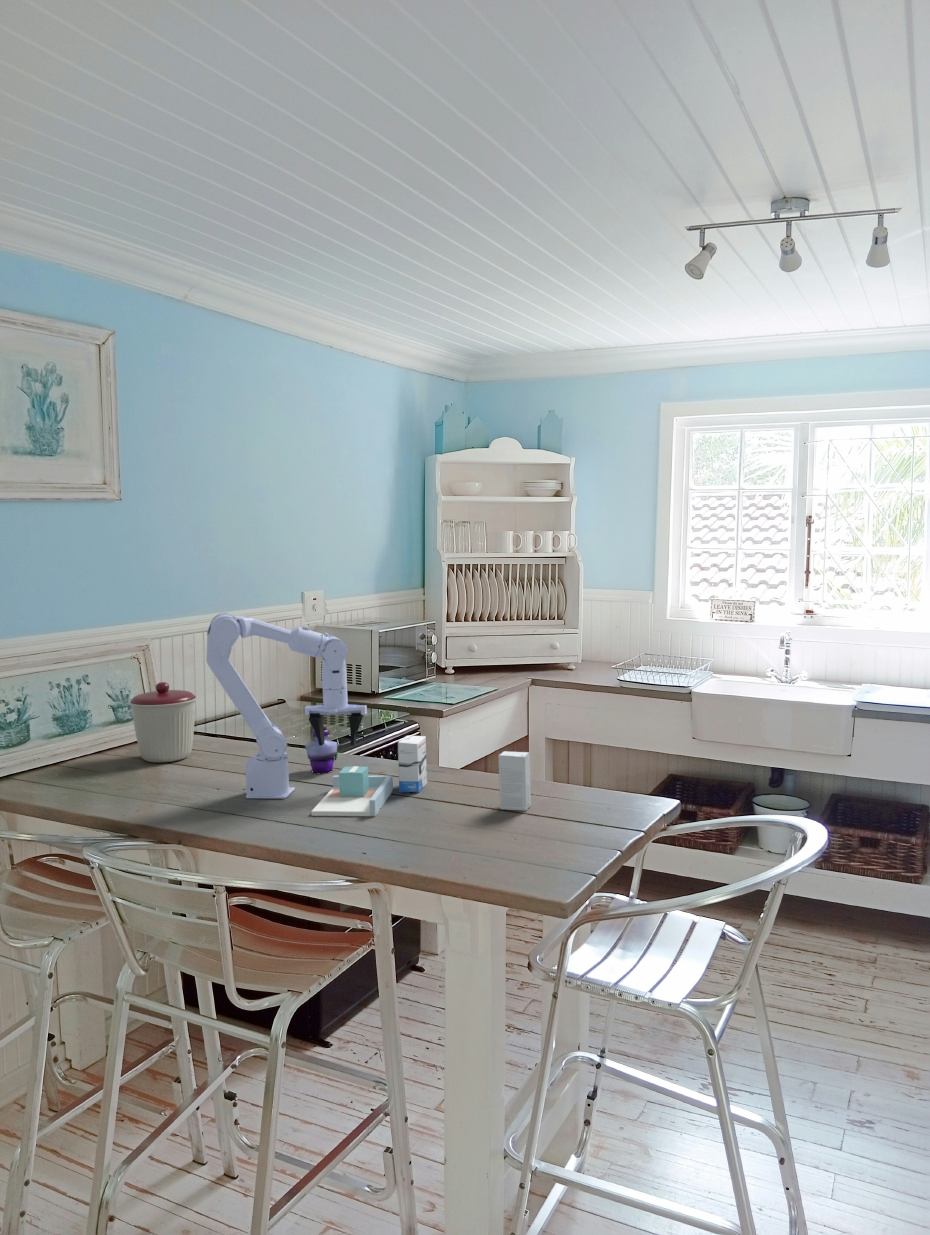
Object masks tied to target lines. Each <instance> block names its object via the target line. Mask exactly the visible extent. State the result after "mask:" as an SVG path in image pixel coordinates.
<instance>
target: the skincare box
mask: <svg viewBox="0 0 930 1235" xmlns="http://www.w3.org/2000/svg"><path fill="white" fill-rule="evenodd" d="M497 757H498V758H497V760H498V781H499V782H498V783H499V784H498V785H499V787H498V788H499V809H500V810H507V811H509V810H510V811H521V812H523V811H524V812H525V811H528V809H529V808H530V807H531V806H532V798H531V797H532V795H531V792H532V791H531V790H532V788H531V769H530V768H531V766H530V765H531V764H530V761H531V760H530V752H529V751H528V752H527V751H507V750H506V751H505V750H504V751H502V752H501V753H500V754H498V756H497Z"/></svg>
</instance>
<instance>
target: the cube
mask: <svg viewBox="0 0 930 1235" xmlns="http://www.w3.org/2000/svg"><path fill="white" fill-rule="evenodd" d="M338 775H339V787H340V797H364V796H365V795H366V793H367V792H368V791H369V777H368V776H369V766H359V765H358V766H356V765H353V766H344V767H343V768H342V769H341V770H340V771H339V772H338Z"/></svg>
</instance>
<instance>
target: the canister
mask: <svg viewBox="0 0 930 1235" xmlns="http://www.w3.org/2000/svg"><path fill="white" fill-rule="evenodd" d="M198 698H199V696H198V695H196V694H194V693H193V692H191V691H188V690H181V689H170V684H169V683H168V682H166V681H160V682H158V683H157V684H156V686H155V691H148V692H144V693H141V694H136V695H135V696H134V697H133V698H131V699H130V700H128V702H127V704H128V705H129V706H130V707H131V708H130V709H131V713H132V715H131V716H132V719H133V727H134V731H135V737H136V741H137V742H136V743H137V747H138V751H139V752H138V753H139V754H140V757H141V758H142V759H143V760H144V761H146V762H149V763H160V764H161V763H169V762H170V763H171V762H176V761H181V760H183V759H185V758H187V757H189V755H191V752H192V750H193V746H194V732H195V719H196V718H195V716H196V715H195V714H196V701H197V700H198Z"/></svg>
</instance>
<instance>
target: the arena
mask: <svg viewBox="0 0 930 1235" xmlns="http://www.w3.org/2000/svg"><path fill="white" fill-rule="evenodd" d="M368 777H369V791H368V792H367V793H366V795H365V796H364V797H340V787H339V774H338V775H334V774H333V776H332V788H331V789H330V790H329V791H328V792H327V793H326V795H324V797H322V799H321V800H320V801H319V802H318V803H317V804H316V806H314V807H313V809H312V810H310V811H311V817H313V816H314V817H315V816H316V817H319V816H320V817H376V816H377V815H376V814H379V812H380V811H381V809H382V808H383V806H384V804H385V803H386V801H387V800H388V799H389V797H390V796H391V794H392V793H393V791H394V783H393V782H394V779H393V775H368ZM380 808H381V809H380Z"/></svg>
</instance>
